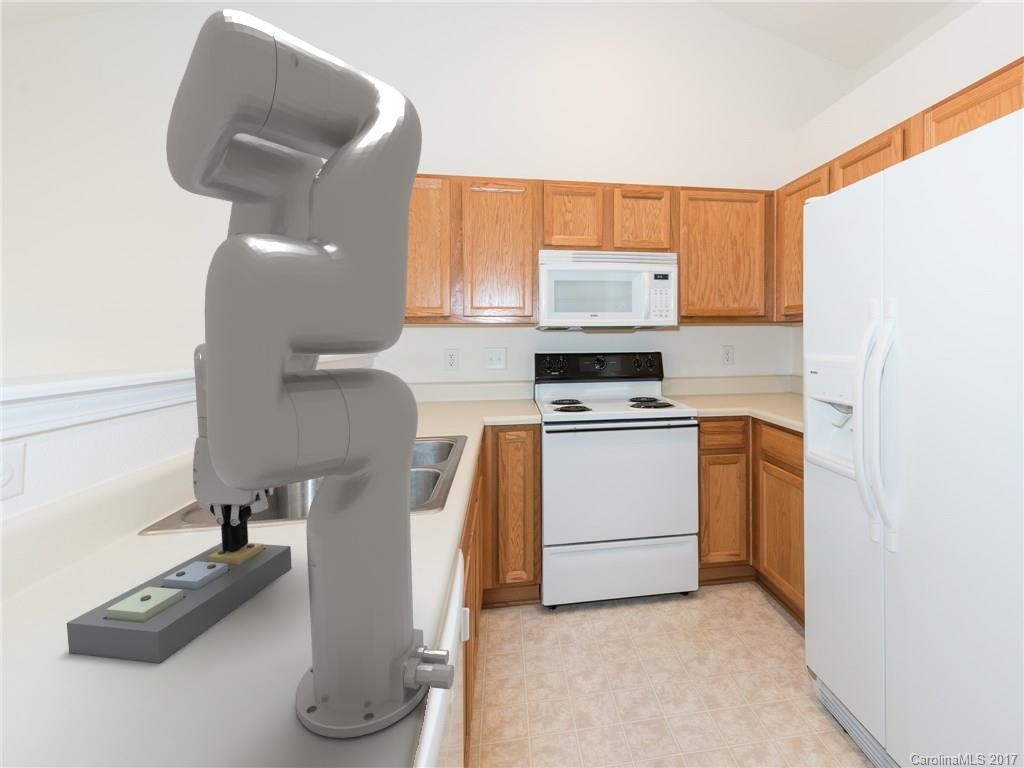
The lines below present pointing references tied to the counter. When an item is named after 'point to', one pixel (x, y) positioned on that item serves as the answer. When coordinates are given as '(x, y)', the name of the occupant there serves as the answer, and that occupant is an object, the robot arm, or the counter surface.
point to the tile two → (195, 575)
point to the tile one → (144, 604)
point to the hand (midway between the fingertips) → (235, 547)
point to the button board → (176, 610)
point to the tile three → (236, 554)
